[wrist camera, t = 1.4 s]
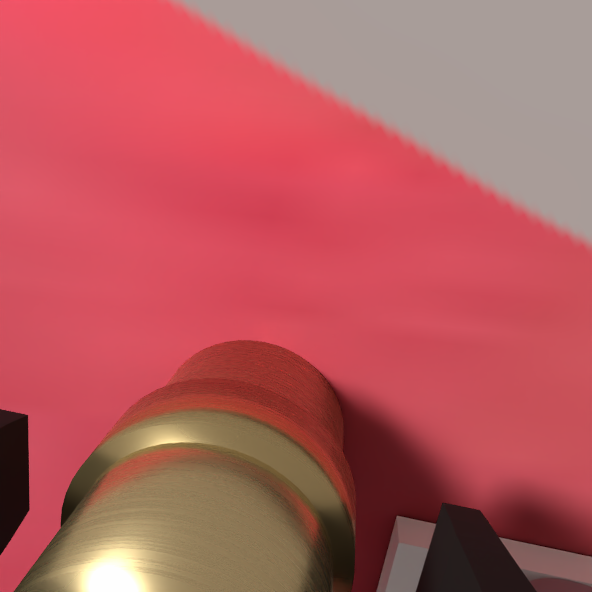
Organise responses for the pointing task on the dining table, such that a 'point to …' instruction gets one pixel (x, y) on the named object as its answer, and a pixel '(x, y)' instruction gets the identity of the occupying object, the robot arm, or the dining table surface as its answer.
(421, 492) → the dining table surface
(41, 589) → the cylinder
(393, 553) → the fitting
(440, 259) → the dining table surface
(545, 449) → the dining table surface
